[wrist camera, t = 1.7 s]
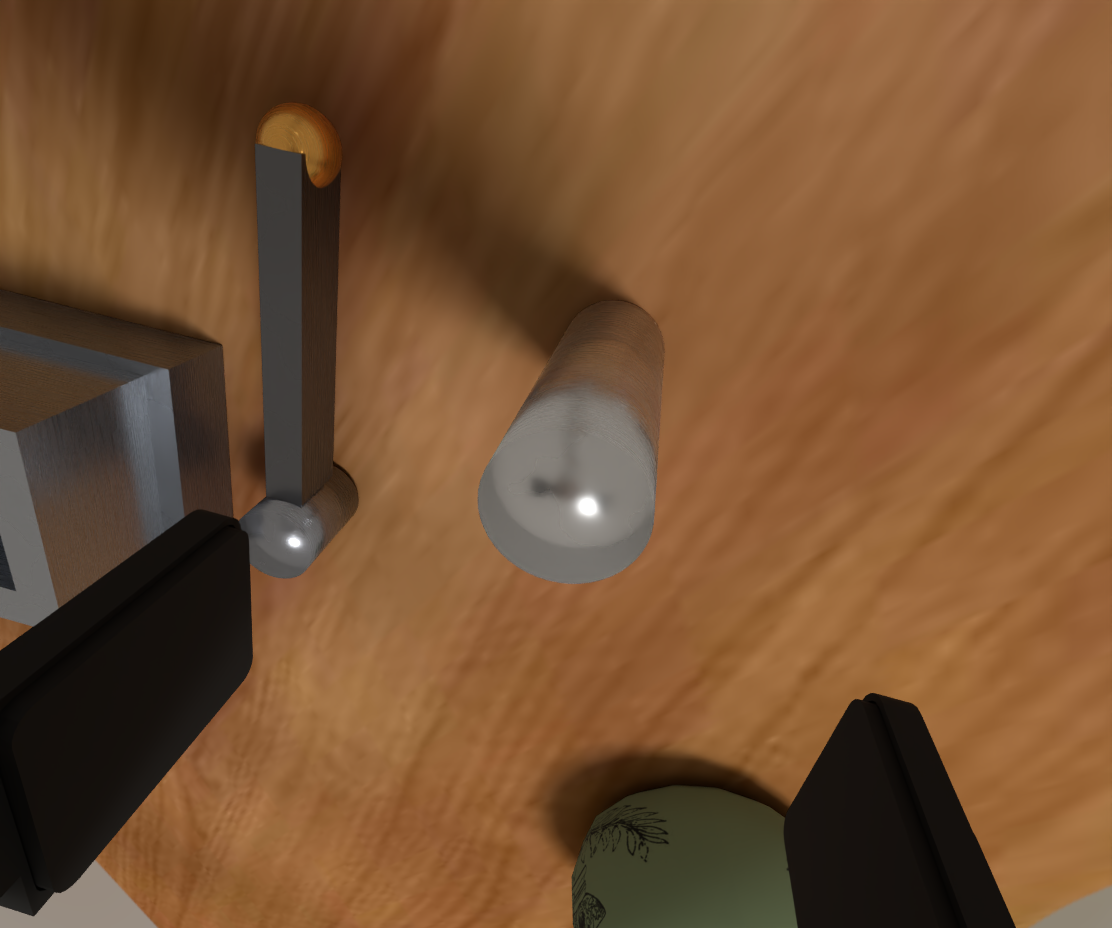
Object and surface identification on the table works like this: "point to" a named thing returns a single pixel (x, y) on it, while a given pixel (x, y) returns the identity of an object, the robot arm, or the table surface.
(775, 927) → the mug
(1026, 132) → the table surface
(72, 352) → the block
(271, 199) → the lever
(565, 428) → the rod
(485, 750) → the table surface
